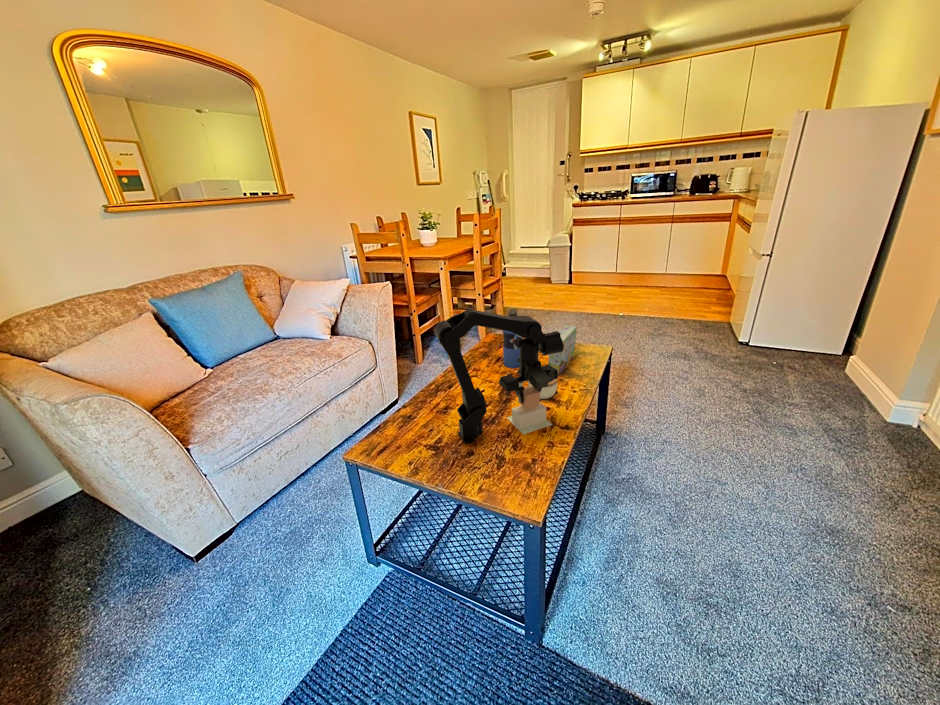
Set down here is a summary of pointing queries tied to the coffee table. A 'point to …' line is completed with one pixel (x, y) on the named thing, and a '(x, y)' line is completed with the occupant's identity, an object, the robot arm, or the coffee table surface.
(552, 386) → the lidded jar
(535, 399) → the top brick
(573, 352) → the snack box
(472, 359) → the coffee table surface
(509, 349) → the water bottle
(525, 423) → the bottom brick
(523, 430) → the baseplate
